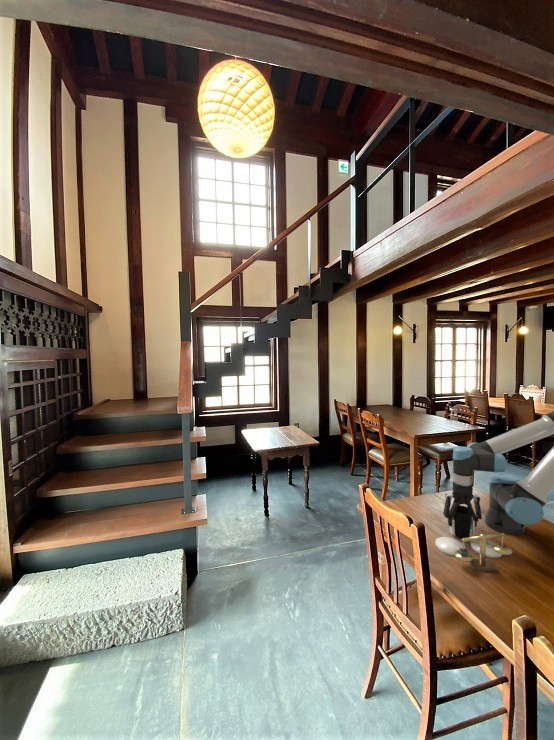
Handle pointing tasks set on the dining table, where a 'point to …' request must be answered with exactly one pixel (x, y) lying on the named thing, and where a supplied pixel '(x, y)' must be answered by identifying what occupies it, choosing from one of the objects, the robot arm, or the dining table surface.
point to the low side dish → (448, 545)
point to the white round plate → (489, 549)
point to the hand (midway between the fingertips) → (462, 533)
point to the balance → (482, 553)
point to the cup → (462, 522)
